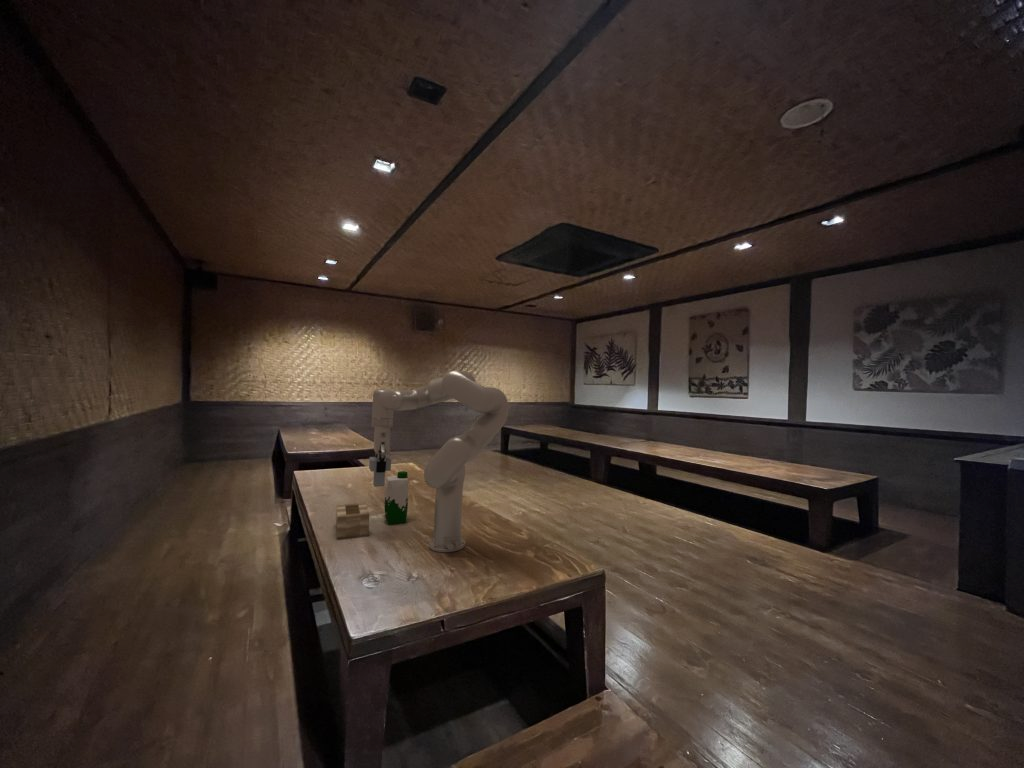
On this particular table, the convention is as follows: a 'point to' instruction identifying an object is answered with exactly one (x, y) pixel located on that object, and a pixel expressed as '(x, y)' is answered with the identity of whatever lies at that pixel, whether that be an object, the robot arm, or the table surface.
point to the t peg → (380, 477)
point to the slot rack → (352, 521)
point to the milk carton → (396, 498)
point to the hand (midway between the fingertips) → (379, 469)
